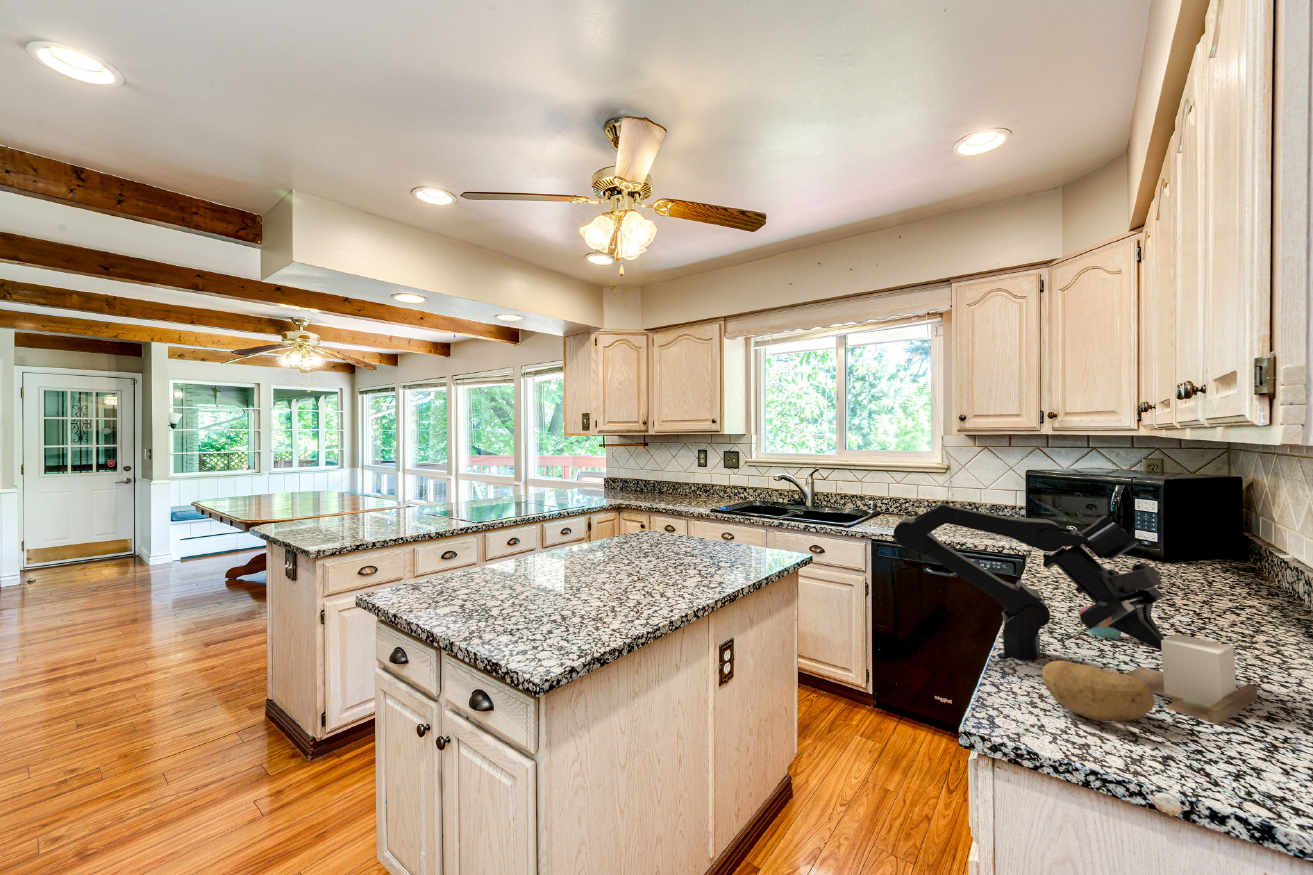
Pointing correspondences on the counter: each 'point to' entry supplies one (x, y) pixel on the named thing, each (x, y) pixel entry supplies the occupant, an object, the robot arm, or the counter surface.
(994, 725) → the counter surface
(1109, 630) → the cupcake
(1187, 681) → the block
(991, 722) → the counter surface
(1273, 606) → the counter surface
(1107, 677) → the potato
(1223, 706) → the lane board
